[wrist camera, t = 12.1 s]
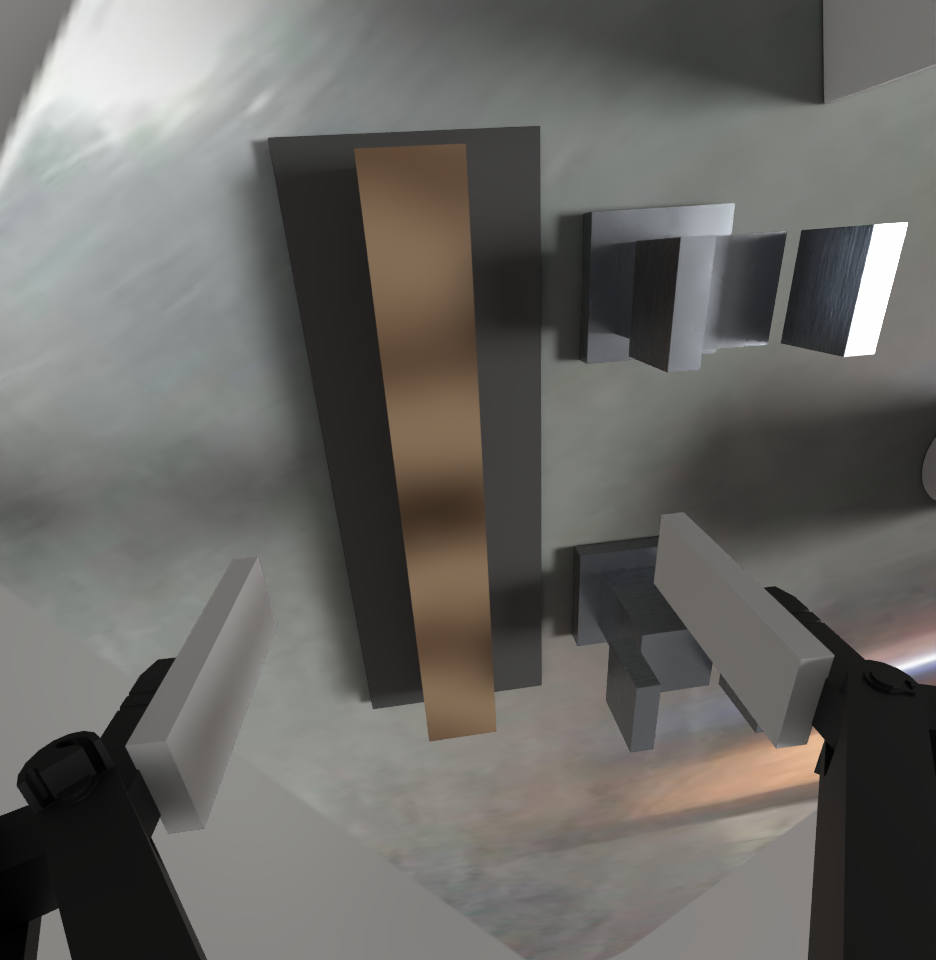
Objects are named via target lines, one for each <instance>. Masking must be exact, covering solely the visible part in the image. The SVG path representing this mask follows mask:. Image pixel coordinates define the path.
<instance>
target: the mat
mask: <svg viewBox="0 0 936 960" xmlns="http://www.w3.org/2000/svg"><path fill="white" fill-rule="evenodd" d="M268 141H269V147H270V152H271V158H272V163H273V168H274V174H275V179H276V185H277V190H278V196H279V201H280V207H281V212H282V217H283V223H284V228H285V234H286V239H287V245H288V250H289V255H290V261H291V266H292V272H293V277H294V283H295V288H296V293H297V299H298V304H299V310H300V315H301V321H302V326H303V331H304V337H305V342H306V348H307V353H308V359H309V364H310V370H311V375H312V380H313V386H314V391H315V397H316V402H317V408H318V413H319V418H320V424H321V429H322V435H323V440H324V446H325V451H326V456H327V462H328V467H329V473H330V478H331V484H332V489H333V494H334V500H335V505H336V511H337V516H338V522H339V527H340V533H341V538H342V543H343V549H344V554H345V560H346V565H347V571H348V576H349V581H350V587H351V592H352V598H353V603H354V609H355V614H356V619H357V625H358V630H359V636H360V641H361V647H362V652H363V657H364V663H365V668H366V674H367V679H368V685H369V690H370V696H371V701H372V706H373V709H378V708H385V707H392V706H399V705H406V704H413V703H420V702H424V695H423V687H422V679H421V671H420V664H419V656H418V648H417V640H416V632H415V624H414V616H413V609H412V601H411V593H410V585H409V577H408V569H407V561H406V554H405V546H404V538H403V530H402V522H401V514H400V506H399V499H398V491H397V483H396V475H395V467H394V459H393V451H392V444H391V436H390V428H389V420H388V412H387V404H386V396H385V389H384V381H383V373H382V365H381V357H380V349H379V341H378V333H377V326H376V318H375V310H374V302H373V294H372V286H371V278H370V271H369V263H368V255H367V247H366V239H365V231H364V223H363V216H362V208H361V200H360V192H359V184H358V176H357V168H356V161H355V153H354V149H357V148H379V147H401V146H423V145H445V144H466V158H467V177H468V197H469V216H470V235H471V254H472V273H473V293H474V312H475V331H476V350H477V370H478V389H479V408H480V427H481V446H482V466H483V485H484V504H485V523H486V542H487V562H488V581H489V600H490V619H491V639H492V658H493V677H494V692H497V691H504V690H511V689H518V688H525V687H532V686H539V685H542V665H541V267H540V126H528V127H505V128H482V129H459V130H436V131H413V132H390V133H366V134H343V135H320V136H297V137H274V138H268Z"/></svg>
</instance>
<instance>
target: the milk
mask: <svg viewBox="0 0 936 960" xmlns="http://www.w3.org/2000/svg"><path fill="white" fill-rule="evenodd" d="M823 52H824V102H825V103H826V104H827V103H831V102H834V101H837V100H840V99H843V98H846V97H849V96H851V95H854V94H857V93H860V92H863V91H866V90H869V89H871V88H874V87H877V86H880V85H883V84H886V83H889V82H891V81H894V80H897V79H900V78H903V77H906V76H908V75H911V74H914V73H917V72H920V71H923V70H926V69H928V68H931V67H934V66H936V0H823Z"/></svg>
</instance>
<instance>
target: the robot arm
mask: <svg viewBox="0 0 936 960" xmlns="http://www.w3.org/2000/svg"><path fill="white" fill-rule="evenodd" d="M654 584H655V585H656V587H657V588H658V589H659V591H660V592H661V593H662V595H663V596H664V597H665V599H666V600H667V601H668V603H669V604H670V606H671V607H672V608H673V610H674V611H675V612H676V614H677V615H678V616H679V618H680V619H681V620H682V622H683V623H684V624H685V626H686V627H687V629H688V630H689V631H690V633H691V634H692V635H693V637H694V638H695V639H696V641H697V642H698V643H699V645H700V646H701V648H702V649H703V650H704V652H705V653H706V654H707V656H708V657H709V658H710V660H711V661H712V662H713V664H714V665H715V666H716V668H717V669H718V671H719V672H720V673H721V675H722V676H723V677H724V679H725V680H726V681H727V683H728V684H729V685H730V687H731V688H732V689H733V691H734V692H735V694H736V695H737V696H738V698H739V699H740V700H741V702H742V703H743V704H744V706H745V707H746V708H747V710H748V711H749V713H750V714H751V715H752V717H753V718H754V719H755V721H756V722H757V723H758V725H759V726H760V727H761V729H762V730H763V731H764V733H765V734H766V736H767V737H768V738H769V740H770V741H771V742H772V744H773V745H774V746H775V748H776V749H777V748H784V747H791V746H798V745H805V744H807V742H808V739H809V736H810V732H811V729H812V726H813V727H814V728H815V729H816V730H817V731H818V732H819V734H820V735H821V736H822V737H823V738H824V739H825V741H824V744H823V747H822V750H821V753H820V756H819V759H818V762H817V765H816V768H815V771H814V773H817V774H819V775H820V780H819V795H818V811H817V827H816V842H815V857H814V873H813V888H812V904H811V919H810V935H809V936H810V937H809V952H808V960H936V686H932V685H924V684H918V683H917V682H916V681H915V680H914V679H913V678H912V677H911V676H909V675H908V674H906V673H904V672H903V671H901V670H899V669H898V668H896V667H893V666H891V665H888V664H886V663H883V662H878V661H873V660H865V659H864V658H863V657H861V656H860V655H859V654H858V653H857V652H856V651H855V650H854V649H853V648H851V647H850V646H849V645H848V644H847V643H846V642H845V641H844V640H842V639H841V638H840V637H839V636H838V635H837V634H836V633H835V632H834V631H832V630H831V629H830V628H829V627H828V626H827V625H826V624H825V623H821V620H820V619H819V618H818V617H817V616H816V615H815V614H813V613H812V612H809V609H808V608H807V607H806V606H804V605H803V604H802V603H801V602H800V601H799V600H798V599H797V598H796V597H794V596H792V595H790V594H789V593H787V592H785V591H783V590H781V589H779V588H777V587H775V586H774V587H765V588H763V587H762V586H761V585H760V584H759V583H758V582H757V581H756V580H755V579H754V578H753V577H752V576H750V575H749V574H748V573H747V572H746V571H745V570H744V569H743V568H742V567H741V566H740V565H739V564H738V563H737V562H736V561H735V560H734V559H733V558H731V557H730V556H729V555H728V554H727V553H726V552H725V551H724V550H723V549H722V548H721V547H720V546H719V545H718V544H717V543H716V542H715V541H714V540H712V539H711V538H710V537H709V536H708V535H707V534H706V533H705V532H704V531H703V530H702V529H701V528H700V527H699V526H698V525H697V524H696V523H695V522H694V521H692V520H691V519H690V518H689V517H688V516H687V515H686V514H685V513H684V512H680V513H671V514H661V523H660V532H659V541H658V550H657V559H656V568H655V577H654ZM276 626H277V625H276V622H275V618H274V614H273V610H272V607H271V603H270V599H269V596H268V592H267V588H266V585H265V581H264V577H263V574H262V570H261V566H260V562H259V559H258V557H249V558H240V559H233V560H232V562H231V563H230V565H229V567H228V569H227V570H226V572H225V574H224V576H223V577H222V579H221V581H220V582H219V584H218V586H217V588H216V589H215V591H214V593H213V595H212V596H211V598H210V600H209V602H208V603H207V605H206V607H205V608H204V610H203V612H202V614H201V615H200V617H199V619H198V621H197V622H196V624H195V626H194V628H193V629H192V631H191V633H190V635H189V636H188V638H187V640H186V641H185V643H184V645H183V647H182V648H181V650H180V652H179V654H178V655H177V657H176V658H168V659H159V660H157V661H156V662H155V663H154V664H152V665H151V666H150V667H149V668H148V669H147V670H146V671H145V672H144V673H142V674H141V675H140V676H139V678H138V680H137V681H136V683H135V684H134V686H133V688H132V689H131V691H130V692H129V696H127V697H126V698H125V700H124V702H123V703H122V705H121V706H120V711H117V713H116V714H115V716H114V718H113V719H112V720H111V722H110V724H109V725H108V727H107V728H106V730H105V731H104V733H103V735H102V736H101V738H100V737H99V736H98V735H97V734H96V733H94V732H88V731H81V732H76V733H71V734H68V735H65V736H63V737H61V738H59V739H57V740H54V741H52V742H51V743H49V744H48V745H46V746H45V747H43V748H42V749H40V750H39V751H38V752H37V753H36V754H35V755H34V756H32V758H30V760H28V761H27V762H26V763H25V765H24V767H23V768H22V770H21V771H20V773H19V774H18V779H17V787H18V789H19V790H20V792H21V793H22V794H23V797H24V798H25V799H26V801H27V803H28V804H29V805H28V806H25V807H22V808H20V809H17V810H15V811H12V812H9V813H7V814H4V815H1V816H0V960H36V959H37V951H38V942H39V934H40V926H41V917H42V915H45V914H47V913H49V912H51V911H53V910H56V909H58V908H59V911H60V915H61V918H62V923H63V927H64V930H65V934H66V938H67V942H68V946H69V950H70V954H71V958H72V960H207V959H206V956H205V954H204V952H203V950H202V948H201V945H200V943H199V941H198V939H197V936H196V934H195V932H194V930H193V928H192V925H191V923H190V921H189V919H188V917H187V915H186V912H185V910H184V908H183V906H182V903H181V901H180V899H179V897H178V894H177V892H176V890H175V888H174V886H173V884H172V881H171V879H170V877H169V875H168V872H167V870H166V868H165V866H164V864H163V861H162V859H161V857H160V855H159V853H158V851H157V848H156V846H155V844H154V842H153V840H152V838H151V836H152V834H153V832H154V830H155V827H156V825H157V823H158V821H159V818H161V821H162V822H163V824H164V827H165V829H166V831H167V833H168V834H171V833H179V832H186V831H193V830H200V829H204V828H205V826H206V823H207V820H208V817H209V814H210V812H211V809H212V806H213V803H214V800H215V798H216V795H217V792H218V789H219V786H220V784H221V781H222V778H223V775H224V772H225V769H226V767H227V764H228V761H229V758H230V755H231V753H232V750H233V747H234V744H235V742H236V739H237V736H238V733H239V730H240V728H241V725H242V722H243V719H244V716H245V713H246V711H247V708H248V705H249V702H250V699H251V697H252V694H253V691H254V688H255V685H256V683H257V680H258V677H259V674H260V671H261V669H262V666H263V663H264V660H265V657H266V655H267V652H268V649H269V646H270V643H271V640H272V638H273V635H274V632H275V629H276Z"/></svg>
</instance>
